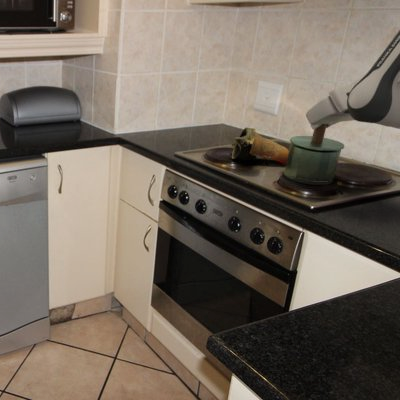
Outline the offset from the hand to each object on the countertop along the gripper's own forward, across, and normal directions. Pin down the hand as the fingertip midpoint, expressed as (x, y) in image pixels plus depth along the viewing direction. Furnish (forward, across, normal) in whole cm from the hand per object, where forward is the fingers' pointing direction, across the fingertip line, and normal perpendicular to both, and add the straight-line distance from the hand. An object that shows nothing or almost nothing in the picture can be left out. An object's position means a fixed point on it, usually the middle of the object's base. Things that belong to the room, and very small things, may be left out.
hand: (318, 126), depth 134 cm
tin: (+10, 0, +11) cm, 15 cm away
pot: (+23, +4, -2) cm, 23 cm away
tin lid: (+3, 0, +4) cm, 5 cm away
